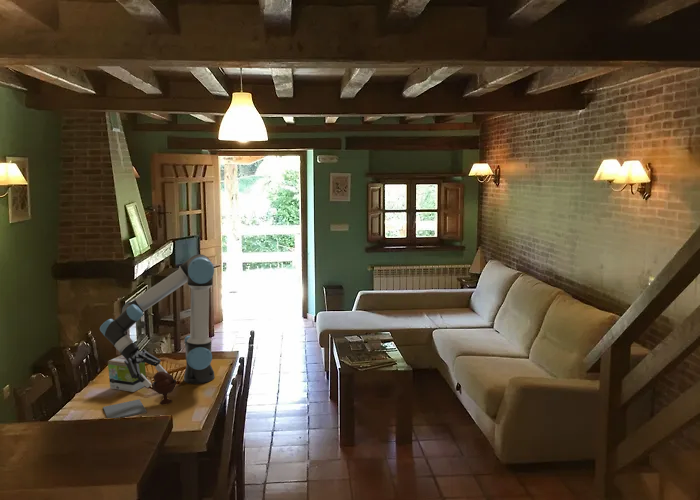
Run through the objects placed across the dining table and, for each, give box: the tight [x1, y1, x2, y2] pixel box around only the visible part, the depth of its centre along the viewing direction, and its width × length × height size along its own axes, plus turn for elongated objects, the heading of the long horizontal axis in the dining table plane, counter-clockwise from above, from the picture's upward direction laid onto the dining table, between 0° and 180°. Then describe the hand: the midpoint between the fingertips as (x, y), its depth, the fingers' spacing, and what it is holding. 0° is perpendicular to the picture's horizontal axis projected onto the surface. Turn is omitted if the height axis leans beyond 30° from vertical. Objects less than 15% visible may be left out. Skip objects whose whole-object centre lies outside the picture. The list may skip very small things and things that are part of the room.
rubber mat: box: [102, 399, 147, 419], centre depth 278 cm, size 16×16×1 cm
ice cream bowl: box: [151, 371, 178, 405], centre depth 284 cm, size 11×11×15 cm
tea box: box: [107, 354, 147, 393], centre depth 306 cm, size 15×10×15 cm, turn 68°
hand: (158, 380), depth 284 cm, fingers open, 13 cm apart
